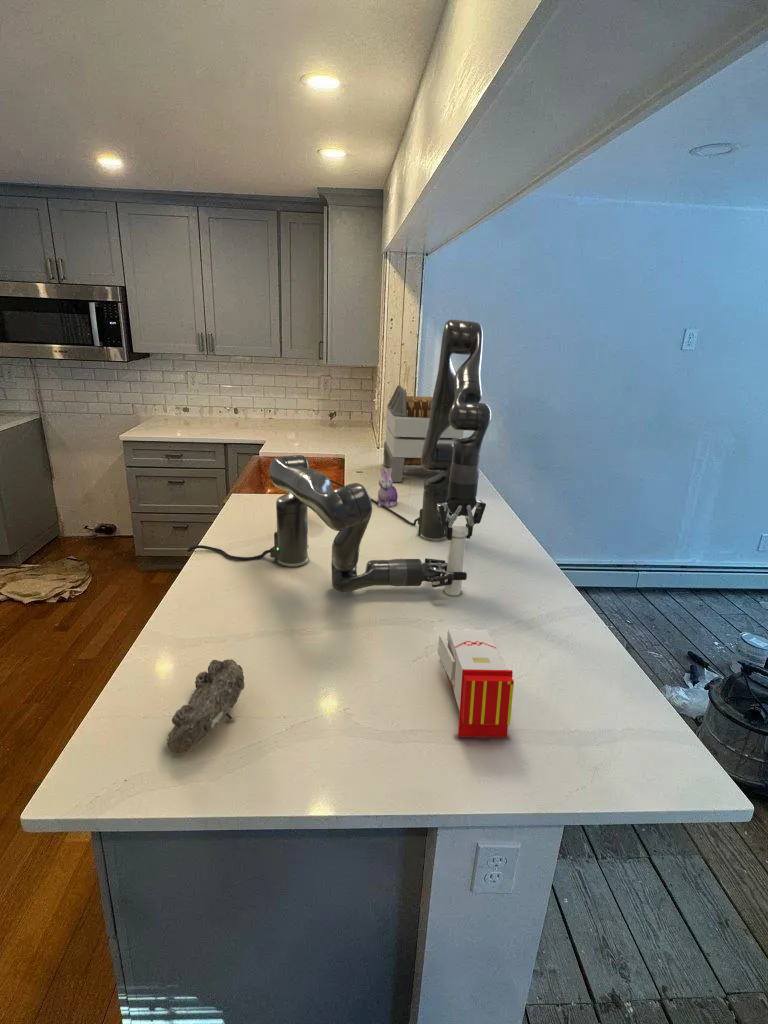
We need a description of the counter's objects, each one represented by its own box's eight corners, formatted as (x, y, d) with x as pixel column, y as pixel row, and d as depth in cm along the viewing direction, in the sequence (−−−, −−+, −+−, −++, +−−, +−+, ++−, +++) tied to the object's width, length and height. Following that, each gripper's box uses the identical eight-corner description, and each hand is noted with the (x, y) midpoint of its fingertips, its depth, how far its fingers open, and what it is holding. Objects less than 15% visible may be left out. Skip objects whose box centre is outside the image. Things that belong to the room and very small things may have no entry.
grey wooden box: (382, 463, 289) (386, 382, 275) (445, 464, 293) (451, 384, 279) (390, 482, 257) (394, 392, 243) (460, 483, 261) (468, 394, 247)
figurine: (382, 509, 223) (384, 472, 218) (371, 501, 232) (372, 465, 226) (403, 506, 227) (405, 470, 222) (391, 498, 236) (393, 463, 231)
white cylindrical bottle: (460, 596, 158) (466, 534, 152) (444, 594, 159) (450, 533, 152) (460, 589, 162) (466, 528, 156) (444, 587, 163) (450, 527, 156)
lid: (445, 531, 155) (445, 526, 155) (460, 529, 158) (461, 523, 157) (455, 538, 151) (456, 532, 151) (471, 535, 153) (472, 530, 153)
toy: (488, 613, 130) (523, 677, 101) (484, 667, 133) (517, 744, 104) (435, 612, 130) (455, 676, 101) (432, 666, 133) (451, 743, 103)
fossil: (192, 660, 117) (244, 628, 112) (224, 691, 120) (276, 661, 115) (142, 746, 98) (202, 712, 93) (182, 779, 101) (242, 748, 96)
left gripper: (408, 571, 149) (471, 570, 151) (401, 549, 162) (459, 549, 164) (406, 596, 151) (469, 596, 153) (399, 573, 165) (457, 572, 167)
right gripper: (481, 473, 155) (475, 531, 160) (433, 475, 150) (428, 535, 156) (494, 481, 148) (487, 541, 154) (444, 484, 144) (438, 545, 149)
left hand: (463, 571), depth 159 cm, fingers closed on white cylindrical bottle, 4 cm apart
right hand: (457, 538), depth 155 cm, fingers closed on lid, 5 cm apart
